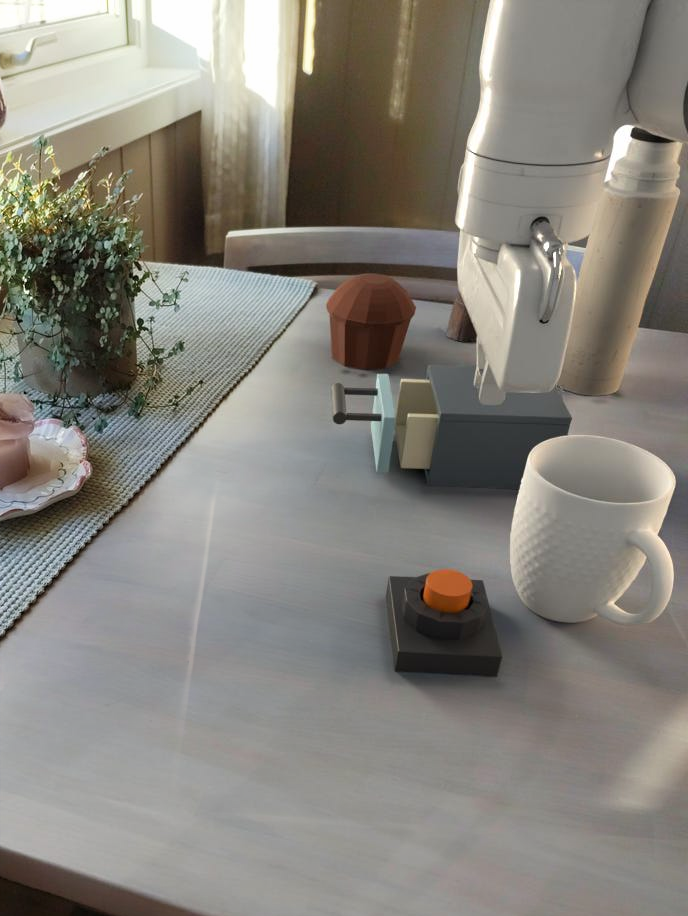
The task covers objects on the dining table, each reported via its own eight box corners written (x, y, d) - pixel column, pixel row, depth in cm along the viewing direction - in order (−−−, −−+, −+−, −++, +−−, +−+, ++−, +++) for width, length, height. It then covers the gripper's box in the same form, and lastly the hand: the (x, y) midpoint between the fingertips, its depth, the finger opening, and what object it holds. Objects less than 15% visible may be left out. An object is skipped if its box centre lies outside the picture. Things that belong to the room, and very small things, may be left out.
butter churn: (484, 358, 117) (534, 114, 99) (418, 341, 122) (454, 104, 104) (512, 336, 123) (564, 101, 105) (448, 320, 127) (487, 93, 109)
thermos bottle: (613, 370, 114) (688, 121, 96) (625, 398, 108) (708, 137, 90) (548, 367, 115) (611, 119, 97) (556, 393, 109) (625, 135, 91)
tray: (329, 471, 93) (334, 415, 89) (326, 425, 101) (331, 372, 97) (488, 477, 92) (501, 421, 88) (474, 430, 100) (485, 376, 96)
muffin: (312, 341, 122) (318, 265, 115) (390, 336, 123) (400, 260, 117) (337, 378, 113) (345, 298, 106) (421, 371, 114) (433, 292, 108)
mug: (689, 648, 73) (752, 511, 65) (582, 685, 70) (634, 546, 61) (565, 552, 83) (606, 423, 75) (467, 580, 80) (498, 449, 72)
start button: (465, 587, 73) (469, 570, 72) (471, 614, 71) (475, 597, 69) (420, 585, 74) (424, 568, 72) (425, 612, 71) (428, 595, 70)
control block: (478, 600, 78) (487, 562, 75) (497, 677, 70) (508, 639, 68) (385, 595, 78) (391, 558, 76) (394, 672, 71) (401, 633, 68)
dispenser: (427, 485, 93) (440, 413, 87) (416, 433, 102) (428, 364, 96) (551, 490, 92) (572, 417, 87) (530, 437, 101) (547, 368, 96)
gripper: (621, 249, 50) (562, 467, 59) (543, 161, 66) (505, 344, 75) (507, 248, 51) (465, 464, 60) (456, 161, 66) (429, 343, 75)
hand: (487, 396), depth 67 cm, fingers closed
